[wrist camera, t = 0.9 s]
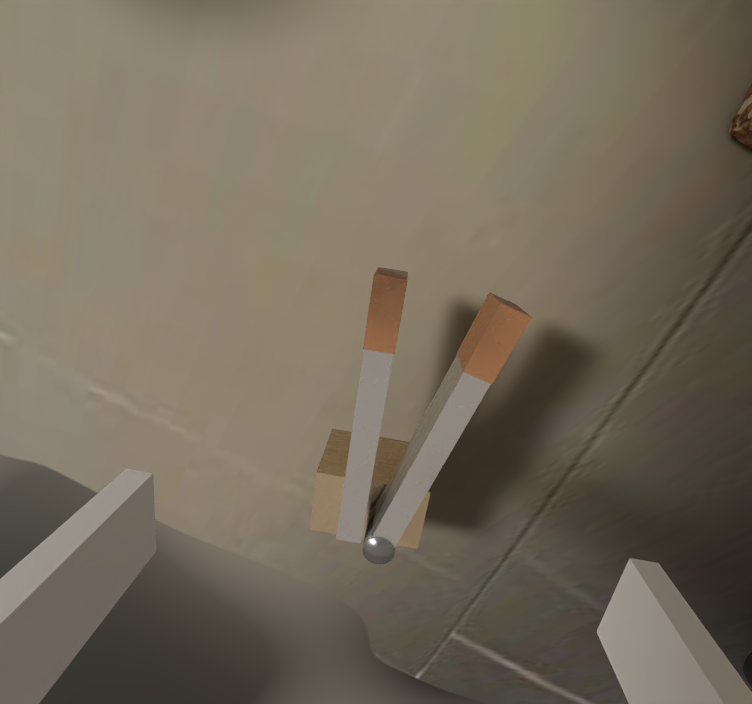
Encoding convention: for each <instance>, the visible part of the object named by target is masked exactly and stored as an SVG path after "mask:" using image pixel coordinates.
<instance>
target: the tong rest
mask: <svg viewBox="0 0 752 704" xmlns="http://www.w3.org/2000/svg"><path fill="white" fill-rule="evenodd" d="M407 280H408V272H405V271H399V270H393V269H387V268H381V267H378V269H377V271H376V272H375V274H374V278H373V285H372V292H371V299H370V305H369V312H368V319H367V326H366V332H365V339H364V346H363V349H364V353H363V360H362V366H361V373H360V380H359V387H358V393H357V400H356V407H355V414H354V420H353V427H352V432H346V431H340V430H334V429H332V431H331V434H330V437H329V439H328V442H327V445H326V448H325V450H324V453H323V456H322V458H321V461H320V464H319V467H318V469H317V472H316V480H315V488H314V497H313V505H312V513H311V522H310V530H316V531H321V532H327V533H332V534H337V535H336V539H338V540H344V541H349V542H355V543H360V544H361V539H364V538H365V531H366V524H367V517H368V512H369V510H370V509H371V508H372V507H373V506H375V505H376V503H377V501H378V500H379V498H380V496H381V494H382V492H383V490H384V489H385V487H386V485H387V483H388V481H389V479H390V477H391V476H392V474H393V472H394V470H395V468H396V466H397V464H398V463H399V461H400V459H401V457H402V455H403V453H404V452H405V450H406V448H407V446H408V444H409V442H403V441H397V440H392V439H386V438H380V437H379V435H380V429H381V423H382V418H383V412H384V406H385V400H386V395H387V389H388V383H389V377H390V372H391V366H392V360H393V354H395V349H396V343H397V337H398V331H399V326H400V320H401V314H402V309H403V303H404V297H405V292H406V286H407ZM430 494H431V489H429V490H428V492H427V494H426V495H425V497H424V499H423V500H422V502H421V504H420V506H419V507H418V509H417V511H416V512H415V514H414V516H413V517H412V519H411V521H410V523H409V524H408V526H407V528H406V529H405V531H404V533H403V534H402V536H401V538H400V540H399V541H398V543H397V545H398V546H404V547H409V548H415V549H418V545H419V541H420V536H421V532H422V528H423V524H424V519H425V515H426V511H427V507H428V502H429V498H430Z"/></svg>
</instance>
